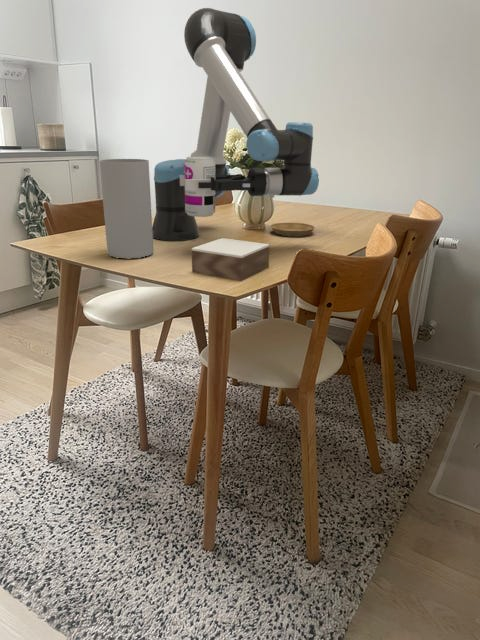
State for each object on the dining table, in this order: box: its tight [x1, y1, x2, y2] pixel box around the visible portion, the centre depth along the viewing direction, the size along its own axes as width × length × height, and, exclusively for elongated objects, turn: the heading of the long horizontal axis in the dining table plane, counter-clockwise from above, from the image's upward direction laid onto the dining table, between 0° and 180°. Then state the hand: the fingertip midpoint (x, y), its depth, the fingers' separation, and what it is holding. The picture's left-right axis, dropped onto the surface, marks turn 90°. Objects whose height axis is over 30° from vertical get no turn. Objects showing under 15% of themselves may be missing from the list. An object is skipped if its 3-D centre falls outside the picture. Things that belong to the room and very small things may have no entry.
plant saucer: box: [270, 222, 315, 238], centre depth 170 cm, size 15×15×3 cm
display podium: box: [191, 237, 270, 282], centre depth 126 cm, size 14×14×6 cm
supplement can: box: [184, 156, 216, 218], centre depth 137 cm, size 8×8×15 cm
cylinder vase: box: [99, 158, 154, 259], centre depth 136 cm, size 12×12×25 cm
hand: (182, 182), depth 135 cm, fingers closed on supplement can, 8 cm apart
